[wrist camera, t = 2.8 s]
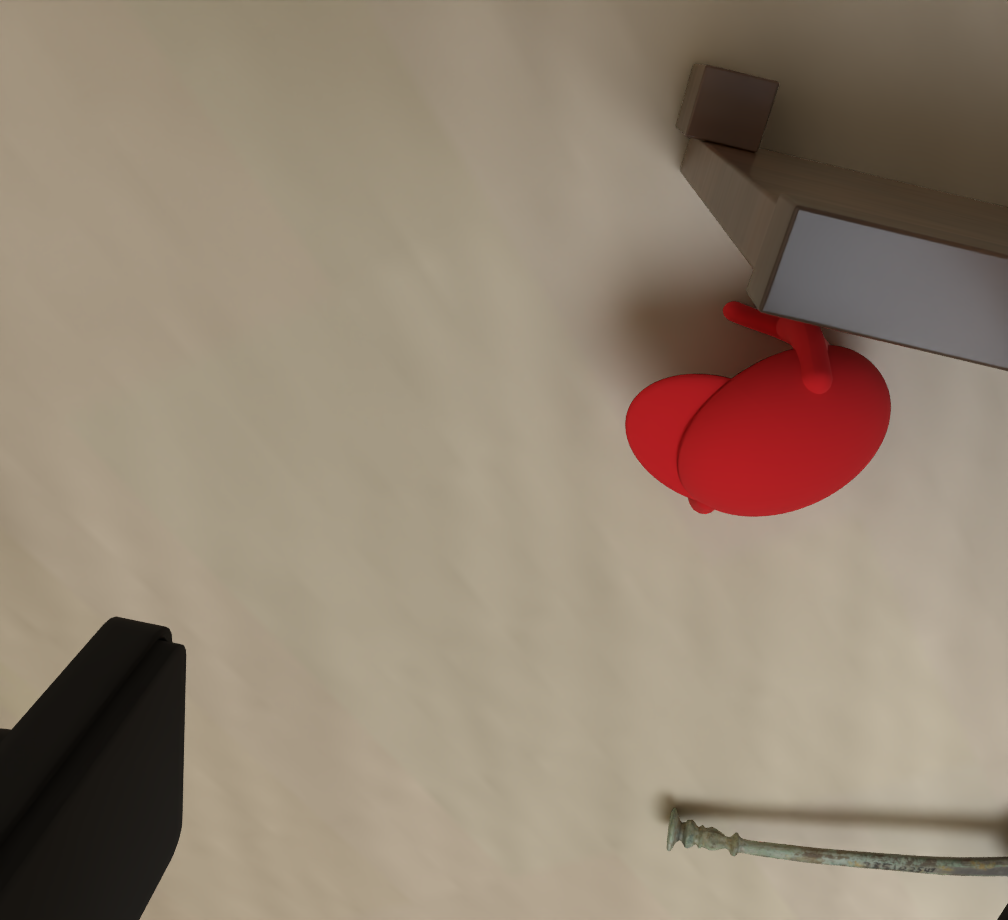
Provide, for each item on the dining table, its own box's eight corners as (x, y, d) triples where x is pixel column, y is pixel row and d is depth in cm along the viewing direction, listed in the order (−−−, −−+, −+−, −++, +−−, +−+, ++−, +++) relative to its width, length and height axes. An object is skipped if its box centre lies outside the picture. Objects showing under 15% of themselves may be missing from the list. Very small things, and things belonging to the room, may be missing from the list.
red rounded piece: (869, 281, 27) (938, 338, 22) (861, 451, 30) (921, 541, 24) (615, 307, 28) (621, 368, 23) (628, 470, 31) (636, 559, 25)
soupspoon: (1160, 889, 38) (1207, 773, 35) (1214, 960, 35) (1271, 838, 32) (658, 867, 39) (669, 752, 36) (667, 934, 36) (680, 813, 33)
